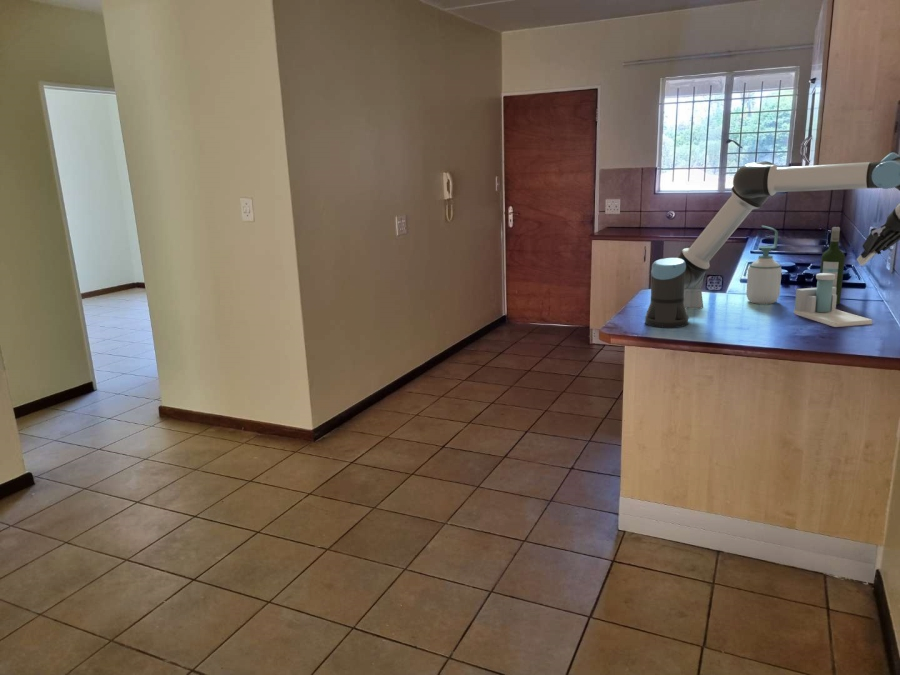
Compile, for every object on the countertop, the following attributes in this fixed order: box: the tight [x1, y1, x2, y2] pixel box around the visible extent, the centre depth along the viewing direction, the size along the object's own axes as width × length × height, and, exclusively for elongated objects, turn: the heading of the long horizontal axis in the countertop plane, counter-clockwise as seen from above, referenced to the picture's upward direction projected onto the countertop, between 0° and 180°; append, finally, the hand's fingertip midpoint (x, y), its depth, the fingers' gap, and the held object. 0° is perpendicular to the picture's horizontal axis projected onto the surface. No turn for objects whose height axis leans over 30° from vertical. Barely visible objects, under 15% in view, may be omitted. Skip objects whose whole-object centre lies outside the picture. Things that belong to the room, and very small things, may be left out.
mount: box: [793, 287, 873, 328], centre depth 234 cm, size 22×14×10 cm, turn 7°
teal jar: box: [815, 272, 835, 312], centre depth 237 cm, size 6×6×14 cm
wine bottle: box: [819, 226, 846, 306], centre depth 255 cm, size 8×8×30 cm
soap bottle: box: [746, 224, 783, 305], centre depth 262 cm, size 12×12×31 cm
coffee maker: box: [684, 271, 707, 309], centre depth 263 cm, size 15×9×18 cm, turn 129°
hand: (860, 262), depth 219 cm, fingers closed
